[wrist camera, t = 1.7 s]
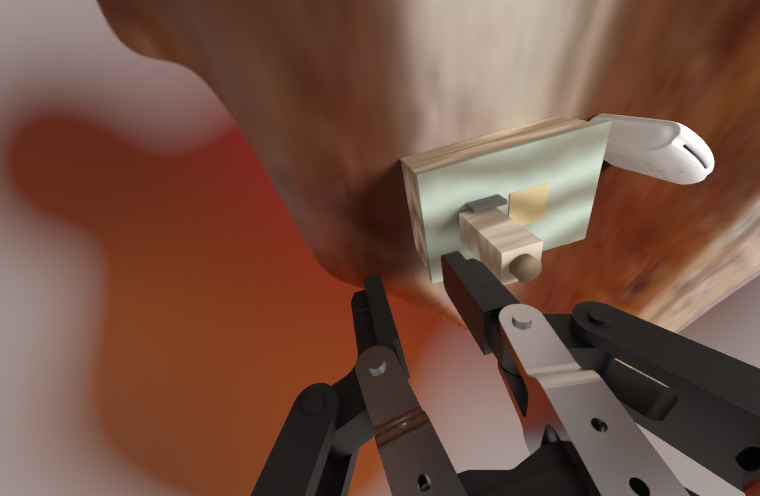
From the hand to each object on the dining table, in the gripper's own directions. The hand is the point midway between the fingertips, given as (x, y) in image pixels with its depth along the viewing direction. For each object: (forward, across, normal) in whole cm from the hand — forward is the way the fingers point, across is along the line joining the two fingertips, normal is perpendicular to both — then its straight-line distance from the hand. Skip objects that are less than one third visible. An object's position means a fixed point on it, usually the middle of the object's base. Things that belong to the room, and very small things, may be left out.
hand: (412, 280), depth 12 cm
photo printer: (+27, -37, +8) cm, 47 cm away
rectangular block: (+27, -17, +10) cm, 34 cm away
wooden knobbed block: (+19, -12, +10) cm, 24 cm away
